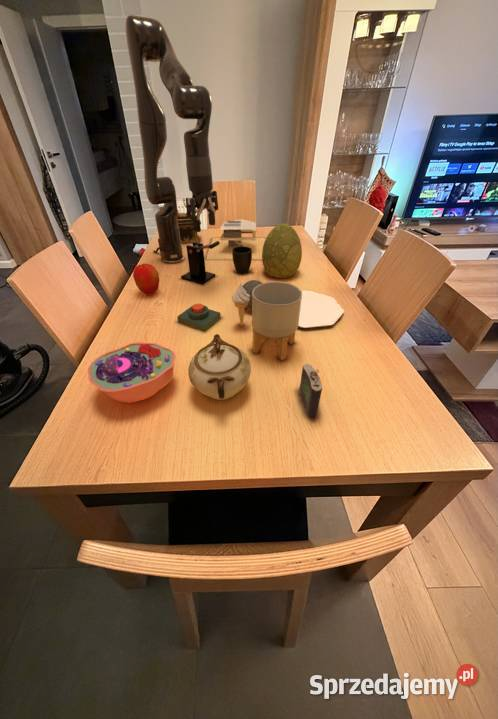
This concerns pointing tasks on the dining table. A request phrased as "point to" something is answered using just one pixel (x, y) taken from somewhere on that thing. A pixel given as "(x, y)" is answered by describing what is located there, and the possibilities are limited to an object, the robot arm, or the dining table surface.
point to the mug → (242, 259)
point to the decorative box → (186, 228)
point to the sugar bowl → (219, 369)
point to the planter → (275, 314)
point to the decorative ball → (250, 290)
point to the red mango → (146, 278)
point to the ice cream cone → (241, 301)
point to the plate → (318, 310)
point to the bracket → (196, 266)
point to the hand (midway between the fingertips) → (205, 228)
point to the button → (198, 308)
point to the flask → (310, 390)
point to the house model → (236, 240)
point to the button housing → (199, 318)
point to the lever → (207, 246)
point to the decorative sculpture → (282, 252)
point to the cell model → (133, 371)
